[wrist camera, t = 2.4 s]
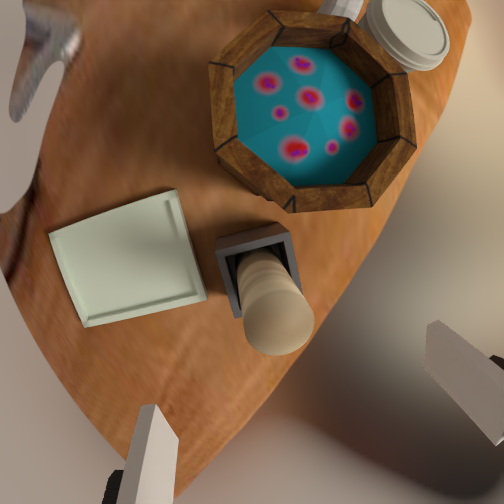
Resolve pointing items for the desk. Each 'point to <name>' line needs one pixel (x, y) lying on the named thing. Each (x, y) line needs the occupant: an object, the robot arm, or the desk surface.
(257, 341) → the dowel
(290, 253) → the pen cup
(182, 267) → the tray
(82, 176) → the desk surface
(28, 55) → the desk surface
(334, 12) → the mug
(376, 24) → the coffee cup
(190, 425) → the desk surface
